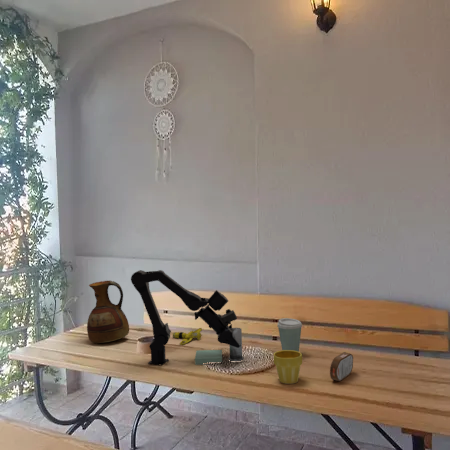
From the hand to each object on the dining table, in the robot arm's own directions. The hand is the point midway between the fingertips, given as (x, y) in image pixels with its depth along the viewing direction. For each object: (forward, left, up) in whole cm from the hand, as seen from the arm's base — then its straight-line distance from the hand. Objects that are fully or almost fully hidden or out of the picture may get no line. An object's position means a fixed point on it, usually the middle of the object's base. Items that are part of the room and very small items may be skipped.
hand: (239, 344), depth 185 cm
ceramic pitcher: (+9, +72, -7) cm, 73 cm away
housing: (-1, +1, -7) cm, 7 cm away
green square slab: (-4, +12, -7) cm, 14 cm away
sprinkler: (+22, +36, -7) cm, 43 cm away
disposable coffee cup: (+12, -19, -7) cm, 24 cm away
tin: (-8, -43, -7) cm, 44 cm away
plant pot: (-17, -25, -7) cm, 30 cm away
